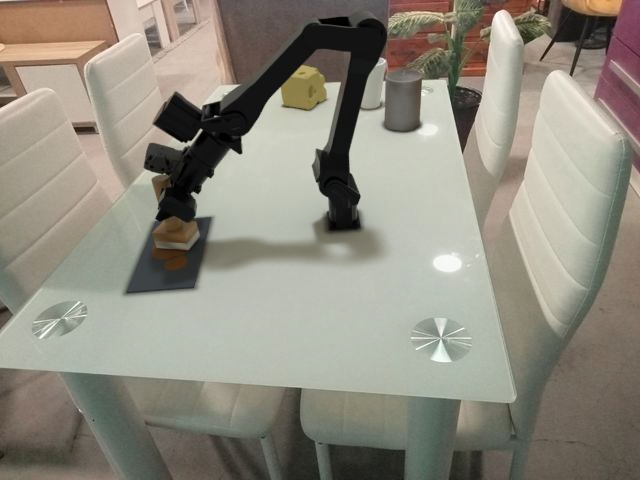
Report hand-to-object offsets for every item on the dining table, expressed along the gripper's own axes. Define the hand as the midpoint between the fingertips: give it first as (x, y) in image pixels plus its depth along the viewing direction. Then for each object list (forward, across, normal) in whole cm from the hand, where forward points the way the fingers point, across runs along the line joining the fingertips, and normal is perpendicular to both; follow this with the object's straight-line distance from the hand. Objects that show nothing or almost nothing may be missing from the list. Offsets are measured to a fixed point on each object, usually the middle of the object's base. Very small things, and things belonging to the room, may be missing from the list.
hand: (158, 215), depth 91 cm
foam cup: (-33, -60, +44) cm, 81 cm away
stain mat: (+4, +3, +6) cm, 8 cm away
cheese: (-20, -67, +30) cm, 76 cm away
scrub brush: (+3, +1, +6) cm, 7 cm away
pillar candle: (-37, -43, +48) cm, 74 cm away
